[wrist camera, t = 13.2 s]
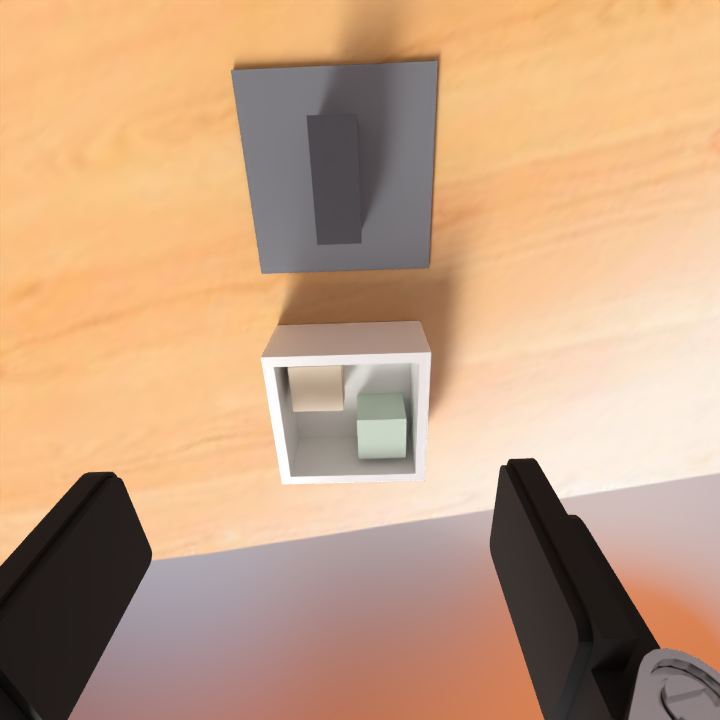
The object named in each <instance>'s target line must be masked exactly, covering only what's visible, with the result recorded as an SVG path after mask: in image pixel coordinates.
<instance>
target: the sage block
mask: <svg viewBox="0 0 720 720" xmlns="http://www.w3.org/2000/svg"><path fill="white" fill-rule="evenodd" d="M406 422H407V419H406V413H405V407H404V401H403V395H402V393H370V394H357V436H358V456H359V459H375V458H406Z"/></svg>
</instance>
